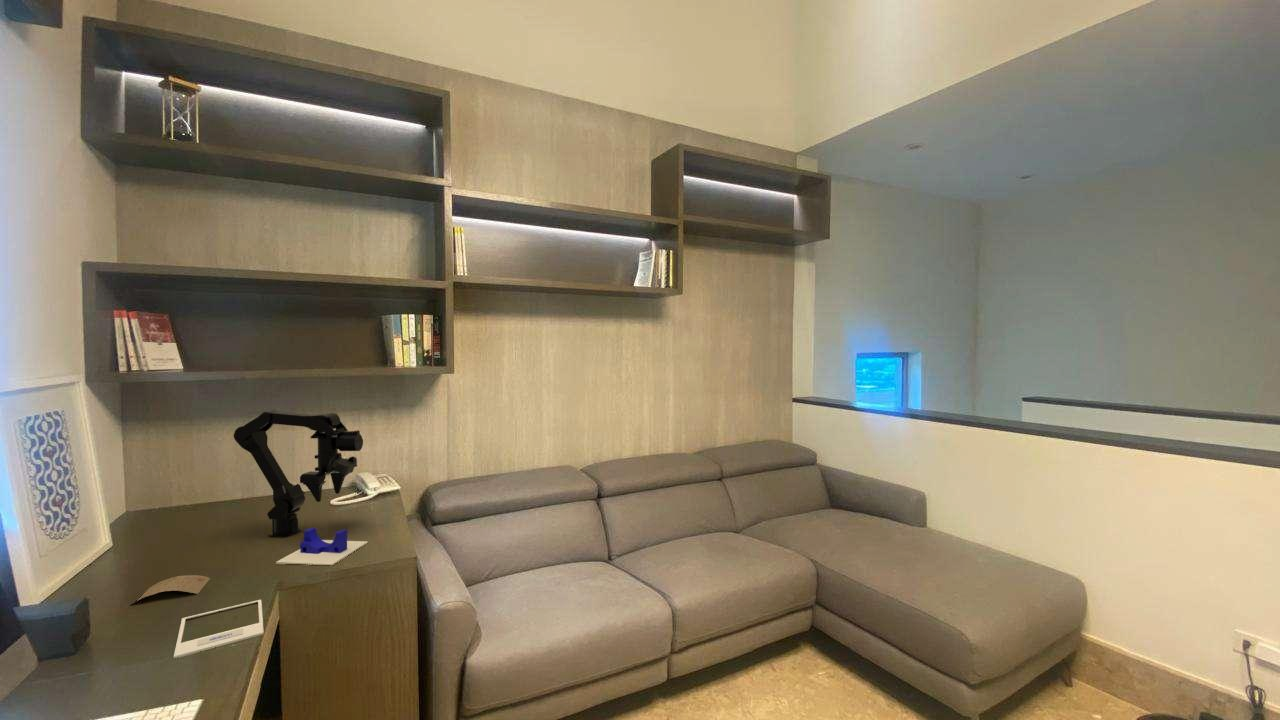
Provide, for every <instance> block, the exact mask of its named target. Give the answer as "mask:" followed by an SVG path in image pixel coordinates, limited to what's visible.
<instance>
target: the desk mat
mask: <svg viewBox="0 0 1280 720" xmlns="http://www.w3.org/2000/svg"><path fill="white" fill-rule="evenodd" d="M321 540H322V541H324V542H326V543H332V542H333V541H334V539H332V540H331V539H321ZM367 543H368V544H369V541H366V540H365V541H358V540H347V550H345V551H343V552H341V553H330V552H321V553H319V554H312V553H300V548H299V549H298V550H296V551H294V552H292V553H290V554H288V555H286V556H284V557H282V558H281V559H279V560H277V561H275V565H285V564H306V565H305V566H309V565H312V564H313V565H334V564H335V563H337V562H338V563H339V561H340V560H341V561H342V559H343V560H345V559H346V558H347V556H348V555H349V554H351V553H352V554H354V553H355V552H357V551H358V550H357V549H359V548H360V547H362V546H363V547H364V545H365V544H366V545H368V544H367ZM366 545H365V546H366ZM363 547H362V548H363ZM360 549H361V548H360ZM360 549H359V550H360ZM356 550H357V551H356ZM354 551H355V552H354ZM353 552H354V553H353ZM352 554H351V555H352ZM349 556H350V555H349ZM349 556H348V557H349ZM345 557H346V558H345ZM341 561H340V562H341ZM338 563H337V564H338ZM307 564H308V565H307ZM335 565H336V564H335ZM335 565H334V566H335Z"/></svg>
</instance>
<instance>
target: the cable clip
mask: <svg viewBox="0 0 1280 720" xmlns="http://www.w3.org/2000/svg"><path fill="white" fill-rule="evenodd" d="M317 531H318V530H317V527H310V528H308V529H306V530H304V531H303V540H302V541H301V542H300V544H299V545H300V548H299V549H300V553H312V554H319V553H321V552H330V553H341V552H343V551H345V550H347V541H348V530H347V529H341V530H339V531H337V532H335V533H334V534H335V535H334V539H333V540H334V541H333V542H332V543H326V542H324V541H322V540H323V539H322V538H321V537H320V536H319V535H318V532H317Z"/></svg>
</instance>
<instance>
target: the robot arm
mask: <svg viewBox="0 0 1280 720" xmlns="http://www.w3.org/2000/svg"><path fill="white" fill-rule="evenodd" d="M340 418H341V417H340V416H339V415H338V414H337V413H335V412H324V413H316V414H309V413H308V414H307V413H296V412H289V411H288V412H286V411H278V410H268V411H267V410H266V411H264V412H262V413H261V414H259V415H258V416H257V417H255V418H254V419H252V420H251V421H249V422H247V423H246V424H245V425H241V426H238V427H237V428H236V429H235V430H234V434H233V438H234V441H235V442H236V444H238V445H239V447H240V448H241V449H243V450H245V451H247V452H249V453H250V455H251V456H252V458H253V459H254V461H255V463H256V464H257V467H259V469H260V471H261V473H262V475H263V476H264V478H265V479H266V481H267V483H268V484H269V486H270V488H271V490H272V501H273V504H274V506H273V507H272V508H271V509H270V510H269V511H268V512H267V513H266V514H267V517H268V519H269V520H272V525H271V526H272V528H271V529H272V533H269V534H268V537H278V538H279V537H280V538H281V537H282V538H284V537H285V538H286V537H289V536H291V535H293V534H296V533H298V532H299V531H301V528H299V519H298V517H297V516H298V514H297V512H299V511H300V510H301V507H302V506H303V505H304V504H305V501H306V496H305V494H306V491H304V490H303V488H302V486H301V485H300V484H303V486H304V485H305V486H306V488H307V489H308V490H309V492H310V493H311V495H312V496H313V498H314V499H315V501H316V502H317V503H319V502H320V503H321V501H322V491H323V490H322V489H323V486H324V484H325V483H326V482H327V481H326V477H327V476H328V475H330V477H331V483H332V487H333V489H334V493H335V494H336V495H339V494H340V493H341V490H342V486H343V484H344V482H345V478H346V476H348V475H349V474H351V473H353V472H354V470H355V468H357V467H358V459H357V457H356V456H349V457H346V458H344V457H342V456H343V455H342V453H341V452H360V451H361V450H362V449H363V446H364V439H363V436H362V434H361V433H360V430H348V429H347V427H346V426H345V425H344V424H343V422H342V420H341V419H340ZM274 425H282V426H295V427H304V428H308V429H310V430H312V431H315V432H314V433H313V434H312V435H311V436H310V439H317V454H315V455H314V459H317V467H314V471H312V470H311V471H308V472H305V473H302V474H301V475H300V476H299V483H300V484H299V483H297V484H295V485H294V484H292V483H291V482H290V481H289V480H288V478H287V475H286V474H285V473H284V472H283V470H282V468H281V467H280V464H279V463H278V461H277V460H276V458H275V456H274V455H273V453H272V450H270V448H269V445H268V439H269V438H268V437H269V436H268V434H267V432H268V431H269V430H270V429H271V428H272V427H273V426H274ZM338 451H340V452H338Z"/></svg>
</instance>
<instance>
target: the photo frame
mask: <svg viewBox="0 0 1280 720" xmlns="http://www.w3.org/2000/svg"><path fill="white" fill-rule="evenodd" d="M252 604H257V606H258V610H257V611H258V622H255V623H253V624H250V625H249V624H248V625H246V626H245V625H244V626H242V627H237V628H233V629H230V630H226V631H222V632H218V633H215V634H214V633H213V634H210V635H207V636H203V637H199V638H194V639H191V640H186V641H183V642H182V640H183V636H184V631H185V626H186V620H189V619H194V618H199V617H202V616H206V615H210V614H215V613H219V611H220V612H222V611H223V612H224V611H227V610H231V609H236V608H241V607H244V606H247V605H252ZM263 617H264V616H263V604H262V599H257V600H253V601H248V602H244V603H240V604H236V605H232V606H228V607H223V608H219V609H216V610H212V611H211V610H210V611H206V612H203V613H198V614H193V615H189V616H186V617H182V618H181V621H180V626H179V631H178V636H177V640H176V645H175V649H174V654H173V659H175V658H176V659H178V658H179V659H180V658H183V657H186V656H190V655H193V654H197V653H201V652H204V651H208V650H211V649H214V648H215V647H216V648H218V647H223V646H225V645H229V644H234V643H238V642H241V641H245V640H247V639H251V638H255V637H258V636H263V635H264V633H265V632H264V620H263ZM216 648H215V649H216ZM200 651H201V652H200ZM177 657H178V658H177Z"/></svg>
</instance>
